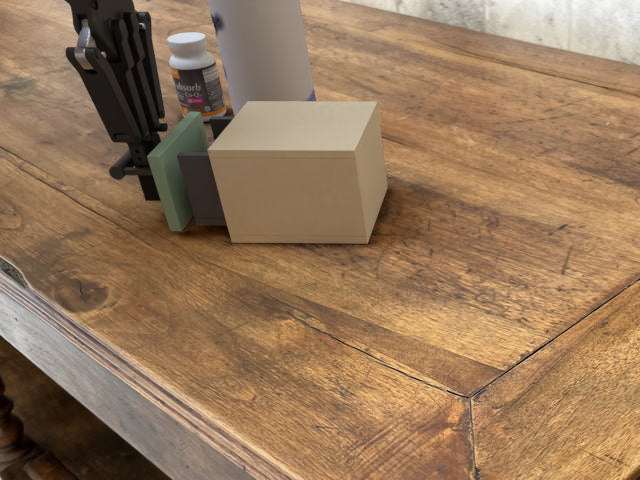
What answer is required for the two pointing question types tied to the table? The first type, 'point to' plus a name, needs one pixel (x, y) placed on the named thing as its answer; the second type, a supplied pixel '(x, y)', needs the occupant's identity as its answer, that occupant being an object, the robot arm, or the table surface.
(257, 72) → the container
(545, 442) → the table surface
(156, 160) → the drawer
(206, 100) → the pill bottle
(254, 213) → the cabinet
